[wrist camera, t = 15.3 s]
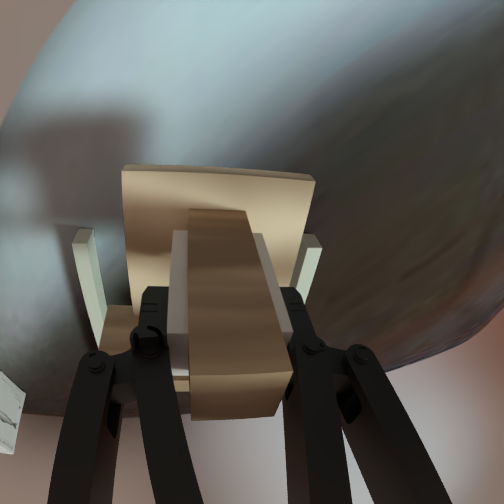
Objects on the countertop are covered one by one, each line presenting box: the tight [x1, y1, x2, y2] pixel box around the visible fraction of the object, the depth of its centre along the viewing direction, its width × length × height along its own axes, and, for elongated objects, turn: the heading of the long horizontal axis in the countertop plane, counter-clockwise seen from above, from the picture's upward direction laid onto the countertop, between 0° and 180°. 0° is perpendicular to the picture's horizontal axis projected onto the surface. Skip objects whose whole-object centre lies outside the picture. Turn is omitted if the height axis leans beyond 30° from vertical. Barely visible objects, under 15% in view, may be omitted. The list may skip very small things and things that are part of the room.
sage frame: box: [72, 229, 322, 348], centre depth 34 cm, size 20×23×2 cm
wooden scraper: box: [98, 164, 315, 421], centre depth 15 cm, size 11×14×11 cm
